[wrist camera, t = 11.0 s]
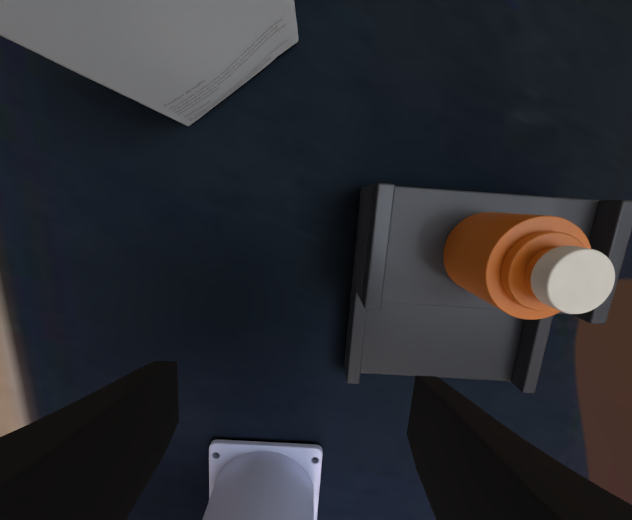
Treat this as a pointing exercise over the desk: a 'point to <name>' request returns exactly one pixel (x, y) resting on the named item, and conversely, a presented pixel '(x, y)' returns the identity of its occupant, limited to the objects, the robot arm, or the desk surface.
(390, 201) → the rack
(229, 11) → the cosmetic box
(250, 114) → the desk surface
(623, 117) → the desk surface
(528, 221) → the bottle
